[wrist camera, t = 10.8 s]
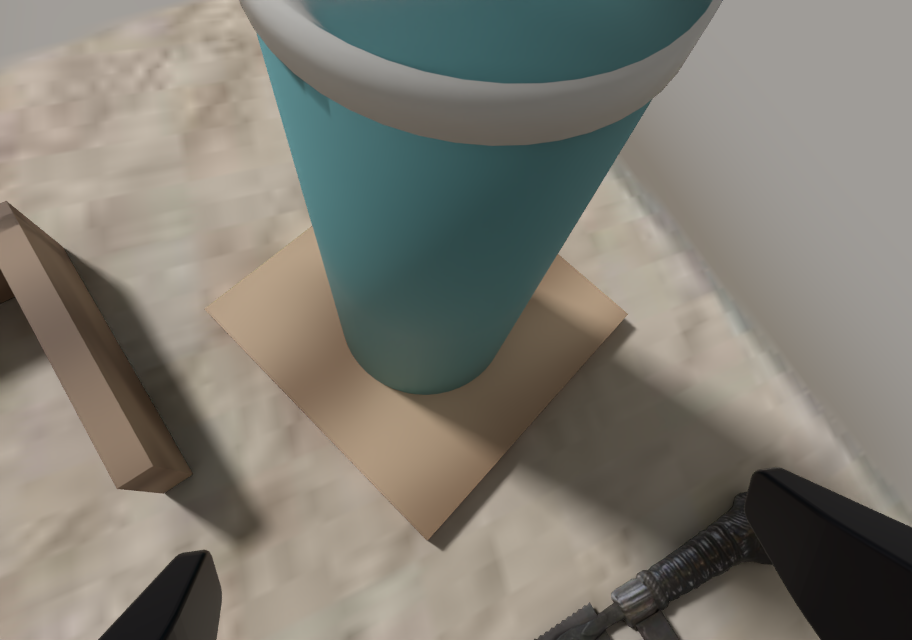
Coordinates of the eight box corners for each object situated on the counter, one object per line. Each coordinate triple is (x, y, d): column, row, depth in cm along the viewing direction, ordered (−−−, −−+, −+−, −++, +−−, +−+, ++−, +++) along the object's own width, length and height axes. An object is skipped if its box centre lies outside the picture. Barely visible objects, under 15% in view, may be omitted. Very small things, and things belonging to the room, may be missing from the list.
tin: (531, 370, 19) (832, 43, 6) (362, 419, 18) (266, 141, 5) (477, 224, 21) (613, -267, 8) (321, 260, 20) (171, -255, 7)
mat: (621, 319, 21) (628, 314, 20) (426, 540, 17) (427, 540, 17) (423, 148, 23) (424, 139, 22) (210, 315, 19) (204, 308, 18)
